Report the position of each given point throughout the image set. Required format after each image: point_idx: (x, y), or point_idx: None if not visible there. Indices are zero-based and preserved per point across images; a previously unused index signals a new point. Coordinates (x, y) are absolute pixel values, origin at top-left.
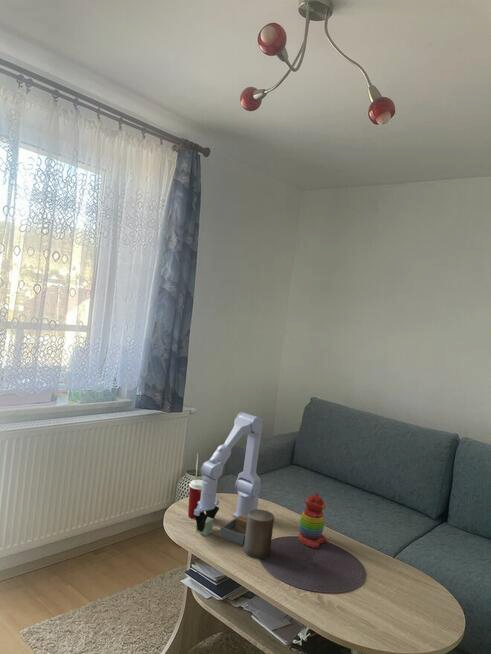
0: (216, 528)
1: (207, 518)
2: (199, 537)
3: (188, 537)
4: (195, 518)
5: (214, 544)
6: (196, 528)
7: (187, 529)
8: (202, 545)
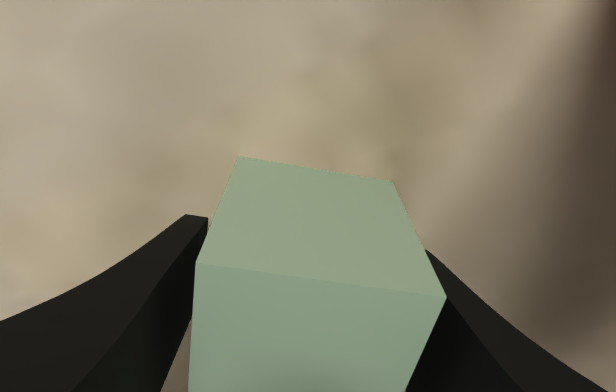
0: None
1: (343, 383)
2: (142, 244)
3: (37, 139)
4: (18, 319)
5: None
6: (229, 180)
7: (225, 21)
8: None
